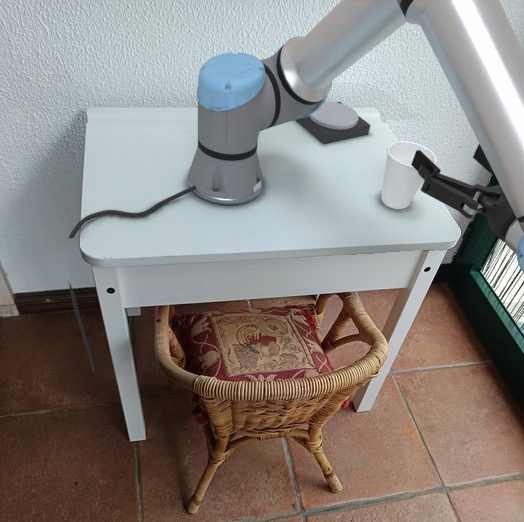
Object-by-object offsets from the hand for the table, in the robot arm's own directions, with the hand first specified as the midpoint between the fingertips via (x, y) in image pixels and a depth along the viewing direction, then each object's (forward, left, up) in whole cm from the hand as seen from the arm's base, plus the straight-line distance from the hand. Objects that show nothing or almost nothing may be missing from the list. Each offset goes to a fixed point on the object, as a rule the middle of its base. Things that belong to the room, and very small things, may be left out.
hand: (447, 153), depth 87 cm
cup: (+2, +9, -16) cm, 18 cm away
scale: (+8, +41, -16) cm, 44 cm away
